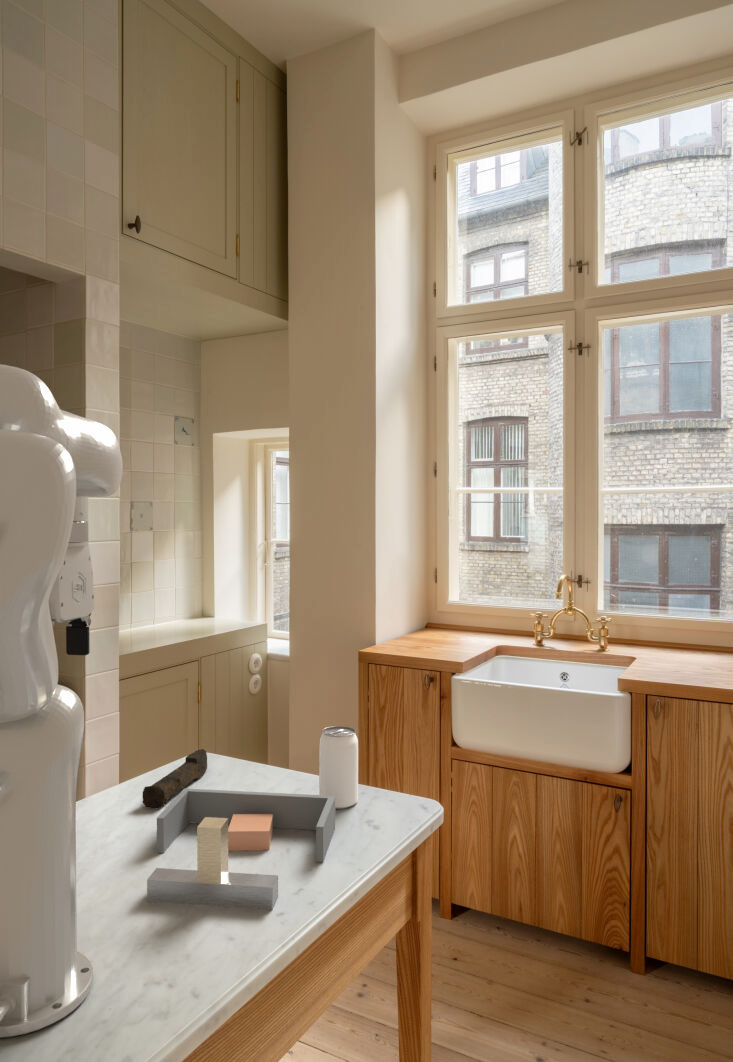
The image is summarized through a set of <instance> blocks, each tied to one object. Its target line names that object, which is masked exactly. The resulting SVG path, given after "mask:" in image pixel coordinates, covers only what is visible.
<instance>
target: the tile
mask: <svg viewBox="0 0 733 1062" xmlns="http://www.w3.org/2000/svg"><path fill="white" fill-rule="evenodd" d="M272 833H273V834H274V828H273V814H233V817H232V820H231V822H230V825H228V851H265V850H266V851H267V850H268V849H269V850H271V849H270V847H271V843H272V838H273V834H272Z"/></svg>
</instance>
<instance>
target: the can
mask: <svg viewBox="0 0 733 1062" xmlns="http://www.w3.org/2000/svg"><path fill="white" fill-rule="evenodd" d="M356 732H357V730H356V729H355V728H354V727H349V726H347V725H346V726H345V725H334V726H328V727H325V728H323V729H322V730H321V733H322V734H321V736H320V739H319V752H318V753H319V755H318V757H319V758H318V759H319V762H318V764H319V765H318V767H319V769H318V772H319V773H318V777H319V778H318V780H319V781H318V785H319V786H318V789H319V790H318V792H319V793H318V795H326V796H335V810H343V809H349V808H351V807H353V806H355V805H356V804H357V802H358V801H359V739H358V736H357V735H356Z"/></svg>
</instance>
